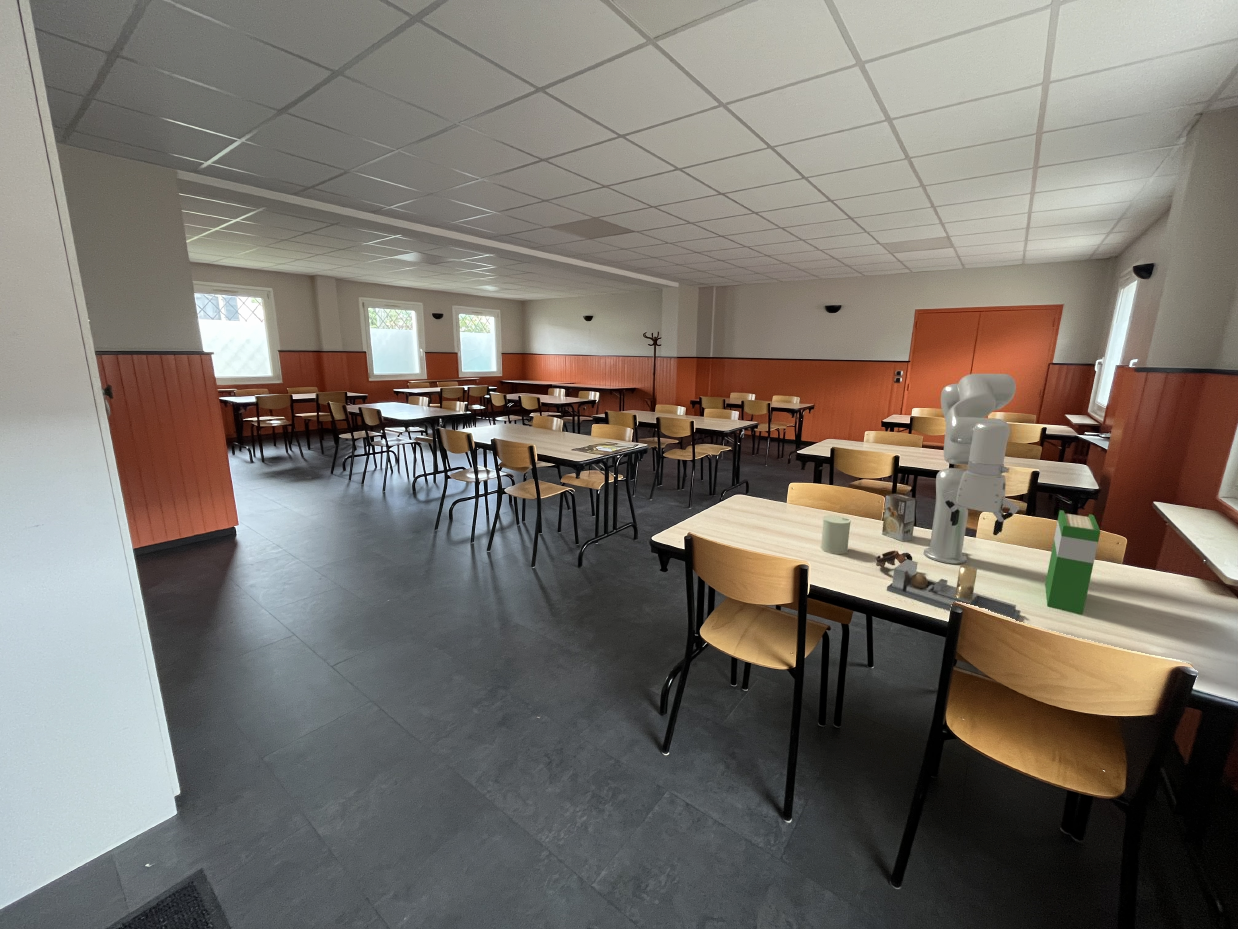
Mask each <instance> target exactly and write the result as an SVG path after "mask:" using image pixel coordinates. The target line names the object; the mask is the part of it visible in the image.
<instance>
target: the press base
mask: <svg viewBox="0 0 1238 929" xmlns="http://www.w3.org/2000/svg"><path fill="white" fill-rule="evenodd" d="M918 563H919V562H918V561H914V560H912V561H911V560H908V559H907V560H905V561H904V562H903V563H901V564H900V563H899V564H898V565H897V566H895V567H894V569H893V574H892V575H893V577H892V582H891V583H890V584H889V585H888V586H887V587H886V591H887V592H891V593H894V594H896V595H900V596H903V597H906V598H909V599H912V600H914V601H917V602H921V603H924V604H927V605H930V606H932V607H933V606H934V607H936V608H939V609H942V608H943V609H942V610H945V609H946V611H949V612H951V611H950V608H951V605H952V603H953V602H954V601H957V600H954V599H951V598H948V597H944V596H941V595H938V594H935V593H933V591H934V585H935V584H936V583H937V582H938V581H936V580H933V579H929V578H927V580H928V584H927V586H926V587H925V588H923V589H919V588H915V587H914V586H913V585H912V584H911V577H912V576H913V575H914V574H917V569H918ZM977 594H978V599H977V601H976V602H975V603H974V606H978V607H979V608H985V609H988V611H989V610H990V611H991V612H994V613H997V614H1000V615H1003V616H1006V617H1010V618H1012V619H1015V620H1016V621H1017V619H1019V618H1020V616H1021V610H1019V609H1016V608H1017V604H1013V603H1010V602H1006V601H1004V600H1000V599H997V598H994V597H989V596H986V595H984V594H980V593H977ZM957 602H960V601H957ZM962 603H964V602H962ZM966 604H967V603H966ZM1019 615H1020V616H1019Z"/></svg>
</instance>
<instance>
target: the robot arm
mask: <svg viewBox="0 0 1238 929" xmlns="http://www.w3.org/2000/svg"><path fill="white" fill-rule="evenodd" d="M1016 389H1017V385H1016V381H1015V379H1014V377H1013V376H1011V375H1009V374H1007V373H1006V374H1005V373H970V374H967V375H965V376H963V377H961V379H960V380H959V381H958V383H952V384H949V385H945V387H944V388H943V389H942V391H941V394H940V406H941V411H942V414H943V417H944V422H945V430H944V433H945V434H944V444H943V458H944V461H945V462H946V463H948V464H951V465H958V466H967V468H957V467H956V468H955V467H954V468H953V467H948V468H947V467H946V468H944V469H941V470H939V472H937V474H936V479H935V491H936V493H935V494H936V495H935V507H934V514H933V520H932V521H933V522H932V529H931V536H930V541H929V542H930V544H929V546H928V547H925V549H924V550H923V555H925V556H926V557H927V558H928V559H931V560H934V561H935V562H940V563H946V564H955V565H957V564H958V565H959V564H964V563H966V562H967V556H966V555H965V554H964V553H963V547H964V542H965V536H966V530H967V529H966V528H967V523H968V516H969V510H975V511H979V512H985V513H989V514H990V513H991V514H993V516H995V518H996V520H995V521H994V526H993V531H992V535H993V536H998V535H999V534H1000V533H1002V532H1003V528H1004V523H1005V521H1006V520H1008V519H1010V518H1011V517H1013V516H1014V515H1015V514H1016V513H1017V512H1018V511H1019V510H1020V506H1019V505H1017V504H1015V503H1013V502H1012V501H1011V500H1009V499H1008V498H1006V489H1007V488H1006V484H1007V482H1006V475H1004V474H1005V473H1007V474H1008V473H1010V467H1008V466H1005V456H1006V449H1007V445H1008V439H1009V438H1010V435H1011V426H1010V425H1009V423H1008V422H1007V421H1006V420H1005V419H1001V418H991V417H990V418H989V417H987V416H990V414H992V413H993V411H998V410H999V411H1000V410H1001V409H1003V408H1004V407H1005V406H1006V405H1008V404H1009V403H1010V402H1011V401H1012V400H1013V398H1014V396H1016V395H1015V394H1016ZM1004 506H1005V507H1007V508H1009V511H1008V512H1006V513H1004V512H1003V508H1004ZM968 509H969V510H968Z"/></svg>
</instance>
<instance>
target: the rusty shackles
mask: <svg viewBox="0 0 1238 929" xmlns="http://www.w3.org/2000/svg"><path fill="white" fill-rule="evenodd" d="M907 559H908V560H911V561H913V556H912V555H911V553H910V552H902V553H901V554H900V553H899V550H896V549H895V550H890V551H887V552H884V553H881V555H877V556H876V557H875V558H874V560H876V562H875V566H876V567H880V568H883V569H885V565H886V563H887V564H888V565H891V566H896V563H895V562H896V560H897V562H898V563H899V565H900V564H901V563H903V562H904V561H905V560H907Z"/></svg>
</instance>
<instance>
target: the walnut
mask: <svg viewBox="0 0 1238 929" xmlns="http://www.w3.org/2000/svg"><path fill="white" fill-rule="evenodd" d="M927 579H928V578H927V577H926V576H925V575H924V574H921V573H916V574H914V575H913V576H912V577H911V584H912V585H913V586H914V587H915V588H919V589H923V588H925V587H926V586H927V584H928V580H927Z"/></svg>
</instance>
